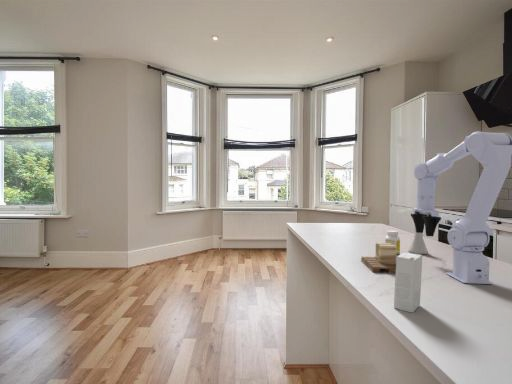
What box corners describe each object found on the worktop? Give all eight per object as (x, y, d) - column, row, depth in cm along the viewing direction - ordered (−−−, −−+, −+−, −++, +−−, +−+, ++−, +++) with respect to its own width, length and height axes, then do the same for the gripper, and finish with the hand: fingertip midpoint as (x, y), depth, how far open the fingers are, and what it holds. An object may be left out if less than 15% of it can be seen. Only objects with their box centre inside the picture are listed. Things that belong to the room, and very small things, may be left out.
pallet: (411, 273, 98) (411, 268, 98) (373, 272, 99) (373, 266, 99) (394, 262, 112) (395, 257, 112) (361, 261, 113) (361, 256, 113)
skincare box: (401, 300, 75) (402, 251, 75) (421, 305, 72) (423, 254, 72) (392, 308, 71) (394, 255, 70) (414, 314, 68) (416, 259, 67)
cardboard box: (395, 264, 103) (396, 246, 103) (380, 263, 103) (380, 245, 103) (390, 260, 108) (390, 243, 108) (375, 259, 108) (375, 242, 108)
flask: (404, 251, 131) (405, 228, 130) (416, 250, 134) (416, 227, 134) (419, 255, 124) (420, 230, 124) (431, 253, 127) (432, 229, 127)
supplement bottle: (396, 254, 125) (397, 230, 125) (401, 257, 120) (402, 232, 120) (383, 253, 126) (383, 229, 126) (387, 256, 121) (388, 232, 120)
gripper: (405, 195, 119) (404, 230, 119) (424, 197, 104) (422, 237, 105) (424, 196, 118) (423, 231, 119) (445, 198, 104) (444, 238, 104)
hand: (424, 234), depth 112 cm, fingers open, 7 cm apart
